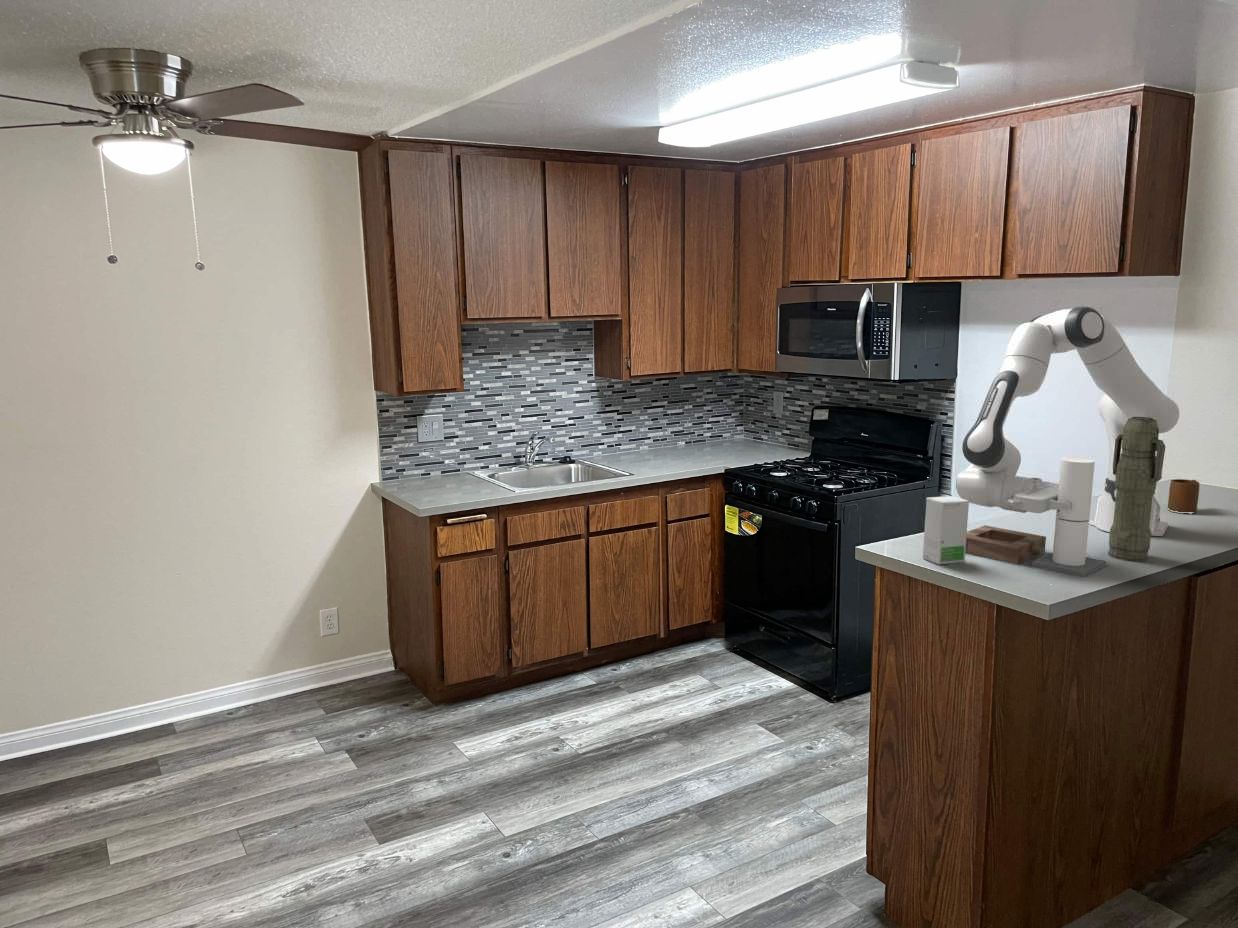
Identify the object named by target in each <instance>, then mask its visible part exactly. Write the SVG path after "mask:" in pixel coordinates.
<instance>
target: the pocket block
mask: <svg viewBox="0 0 1238 928" xmlns="http://www.w3.org/2000/svg"><path fill="white" fill-rule="evenodd" d="M1046 542H1047V536H1045V535H1044V536H1043V535H1039V534H1036V533H1035V534H1034V533H1030V532H1028V533H1027V532H1023V531H1018V530H1013V529H1006V528H1002V527H996V526H991V525H990V526H989V525H983V526H979V527H977V528H974V529H972V530H967V535H966V549H965V554H968V555H972V554H973V555H974V556H978V557H981V558H982V557H983V558H986V559H991V558H992V560H996V559H997V560H996V561H1001V560H1002V562H1005V561H1006V563H1010V562H1011V564H1015V563H1016V564H1015V565H1018V564H1021V563H1023V562H1025V561H1027V560H1030V559H1033V558H1034V557H1036V556H1038V555H1042V554H1043V553H1045V552H1046ZM973 555H972V556H973Z"/></svg>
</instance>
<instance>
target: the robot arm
mask: <svg viewBox="0 0 1238 928" xmlns="http://www.w3.org/2000/svg"><path fill="white" fill-rule="evenodd" d="M1074 350H1076V352H1077V354H1078V356H1079V357H1080V358H1079V359H1080V360H1081V361H1082V363H1083V365H1084V366H1085V368H1086V370H1087V372H1088V374H1089V376H1090V377H1091V379H1092V380H1093V382H1094V383H1095V385H1096V387H1098V389H1099V390H1101V391H1102V392H1103V393H1105V394H1104V395H1103V396H1102V397H1101V398H1100V400H1099V402H1098V413H1099V416H1100V417H1101V419H1102V420H1103V422H1104V425H1105V429H1106V434H1107V439H1108V446H1109V447H1108V449H1109V458H1108V459H1109V460H1108V471H1107V477H1106V478H1105V482H1104V491H1105V492H1104V493H1103V494H1101V495H1100V496H1099V497H1098V499H1097V506H1096V512H1095V516H1094V519H1089V525H1091V526H1094V527H1096V528H1097V529H1099V530H1101V531H1104V532H1108V533H1110V528H1111V526H1112V525H1113V520H1114V511H1115V501H1116V491H1117V490H1116V487H1115V479H1116V477H1115V476H1116V475H1114V474H1113V459H1114V449H1115V439H1116V438H1117V437H1118V436H1119V435H1121V434H1123V429H1124V427H1125V424H1126V422H1127V420H1128V419H1129V418H1131V417H1148V418H1153V420H1156V421H1157V425H1158V429H1159V434H1165V433H1167V432H1169V431H1171V430H1172V429H1174V428H1175V427H1176V425H1177V424H1178V422H1179V419H1180V409H1179V406H1178V404H1177V403H1176V401H1174V400H1173V399H1171V398H1170V397H1168V396H1167V395H1166V394H1164V392H1163V391H1162V390H1161V389H1160V388H1159V387H1158V386H1157V385H1156V384H1155V382H1153V380H1151V379H1150V377H1149V376H1148V375H1147V374H1146V372H1144V371H1143V369H1142V368H1141V367H1140V366H1139V364H1138V363H1137V361H1136V359H1135V358H1134V356H1133V354H1132V352H1131V350H1130V349H1129V347H1128V346H1127V343H1126V342H1125V340H1124V339H1123V336H1121V333H1120V332H1119V331H1118V330H1117V328H1116V327H1115V326H1114V325H1113V323H1111V321H1110V320H1109V319H1108V318H1107V317H1106V316H1104V315H1103V314H1101V313H1100V312H1099V311H1097V310H1096V309H1095V308H1093V307H1089V306H1076V307H1073V308H1063V309H1060V310H1056V311H1053V312H1051V313H1047V314H1044V315H1039V316H1037V317H1034V318H1032V319H1031V320H1029V321H1028V322H1024V323H1021V324H1020V325H1019V326H1018V327H1017V328H1016V329H1015V331H1014V332H1013V334H1012V335H1011V338H1010V340H1009V342H1008V345H1007V347H1006V349H1005V352H1004V354H1003V355H1004V356H1003V358H1002V362H1001V364H1000V368H999V371H998V373H997V374H996V376H995V378H993V380H992V383H991V385H990V387H989V389H988V390H987V391H988V392H987V394H986V397H985V399H984V401H983V404H982V407H981V408H980V412H979V413H978V417H977V419H976V421H975V423H974V425H973V426H972V427H971V428H970V430H968V432H967V434H966V435H965V437H964V439H963V441H962V448H961V449H962V455H963V456H964V458H965V459H966V460H967V461H968V462H969V463H970V464H969V465H968V466H967V467H966V468H965V469H963V470H962V471H960V472H959V473H958V474H957V477H956V481H955V489H956V492H957V494H958V496H959V498H960V499H964V500H968V501H969V504H973V505H976V506H982V507H987V508H995V507H996V508H999V509H1002V510H1004V511H1009V512H1017V513H1021V514H1026V513H1034V514H1043V513H1045V512H1047V511H1048V512H1049V511H1050V510H1053V511H1054V510H1055V511H1057V510H1067V511H1068V510H1070V509H1072V503H1071V502H1066V501H1064V502H1061V501H1058V489H1059V483H1055V482H1051V481H1044V480H1043V479H1042V478H1039V477H1024V476H1018V475H1017V472H1018V470H1019V467H1020V465H1021V461H1022V459H1021V453H1020V451H1019V449H1018V448H1017V447H1016V446H1015V445H1014V444H1013V443H1012V442H1010V441H1009V440H1008V439H1007V438H1006V437H1005V435H1004V424H1005V423H1006V421H1007V420H1006V419H1007V417H1008V415H1009V412H1010V409H1011V407H1012V404H1013V402H1014V401H1015V400H1016V398H1018V397H1019V398H1020V397H1021V398H1023V397H1024V398H1025V397H1028V396H1031V395H1033V394H1035V393H1036V392H1038V391H1039V390H1040V389H1041V387H1042V385H1043V384H1044V381H1045V379H1046V375H1047V372H1048V369H1049V365H1050V361H1051V356H1052V354H1063V353H1068V352H1069V351H1070V352H1071V351H1074ZM1121 454H1122V443H1121V453H1120V457H1121ZM1157 483H1158V482H1156V484H1157ZM1155 494H1156V490H1155V491H1154V492H1153V498H1152V507H1151V516H1150V526H1149V528H1150V531H1151V537H1152V536H1153V537H1162V536H1164V534H1165V532H1166V531H1167V529H1168V526H1169V523H1168V522H1167V521H1163V520H1161V518H1160V515H1161V505H1160V503H1159V502H1158V500H1157V499H1156V497H1155Z"/></svg>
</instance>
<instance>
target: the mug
mask: <svg viewBox="0 0 1238 928" xmlns="http://www.w3.org/2000/svg"><path fill="white" fill-rule="evenodd" d="M1168 492H1169V493H1168V501H1167V509H1168V508H1169V509H1170V510H1173V511H1178V512H1196V513H1197V509H1198V503H1199V496H1200V495H1199V494H1200V481H1197V480H1195V479H1186V478H1185V479H1182V478H1174V479H1171V480H1170V484H1169V491H1168Z"/></svg>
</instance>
